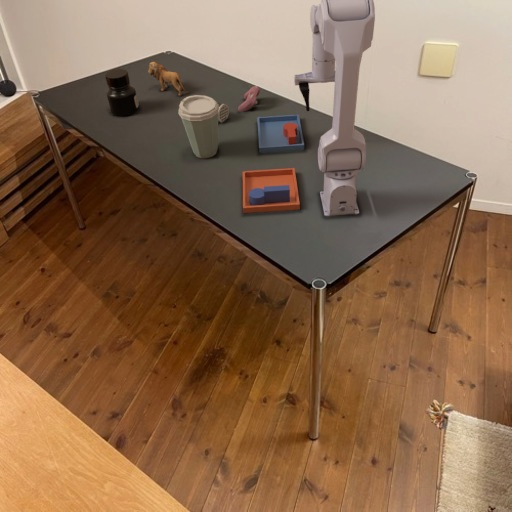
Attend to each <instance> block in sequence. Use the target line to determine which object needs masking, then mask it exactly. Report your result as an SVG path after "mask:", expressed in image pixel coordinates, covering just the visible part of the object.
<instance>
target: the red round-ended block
mask: <svg viewBox="0 0 512 512" xmlns="http://www.w3.org/2000/svg"><path fill="white" fill-rule="evenodd" d="M283 135H284V136H285V137H287V139H288V145H293V144H296V136H297V124H295V123H287V124H285V125H284V126H283Z"/></svg>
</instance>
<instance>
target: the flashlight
mask: <svg viewBox="0 0 512 512" xmlns="http://www.w3.org/2000/svg"><path fill="white" fill-rule="evenodd" d="M188 96H189V95H185V96H182V97H181V98H180V101H179V104H178V106H179V105H180V102H181V101H182V100H183V99H185V98H186V97H188ZM216 102H217V101H216ZM217 103H218V105H219V113H218V123H221V124H222V123H223V122H225V121H226V120H227V119H228V118H229V116H230V108H229V105H227V103H222V102H217Z"/></svg>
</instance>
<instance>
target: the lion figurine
mask: <svg viewBox="0 0 512 512" xmlns="http://www.w3.org/2000/svg"><path fill="white" fill-rule="evenodd" d="M146 72H147V73H148V75H149V76H150V77H153V78H155V79H156V80H157V81H158V82H159V83H160V86H161V88H160V91H161V92H163V91H165V90H166V88H169V84H172V86H173V87H174V89H176V91H178V93H177V94H178V96H179V97H180V96H183V92H182V91H184V92H185V93H186V94H190V91H189V90H187V89H185V88H184V86H183V83H182V80H181V76H180V74H179V73H178V72H176V71H170V70H167V69H166V67H165V66H164V65H162V63H159V62H157V61H151V62H149V68H148V70H147V71H146Z"/></svg>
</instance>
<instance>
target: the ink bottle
mask: <svg viewBox="0 0 512 512" xmlns="http://www.w3.org/2000/svg"><path fill="white" fill-rule="evenodd" d="M104 78H105V82H106V85H107V87H108V89H107V90H106V97H107V102H108V105H109V108H110V112H111V114H112V115H115V116H118V117H126V116H130V115H133V114H134V113H136V112H138V110H139V109H140V103H139V99H138V95H137V92H136V91H137V90H136V88H135V87H134V86H133V85H132V84H131V80H130V77H129V71H128V70H126V69H124V68H117V69H116V68H115V69H111V70H109V71H107V72H106V73H105V74H104Z"/></svg>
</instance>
